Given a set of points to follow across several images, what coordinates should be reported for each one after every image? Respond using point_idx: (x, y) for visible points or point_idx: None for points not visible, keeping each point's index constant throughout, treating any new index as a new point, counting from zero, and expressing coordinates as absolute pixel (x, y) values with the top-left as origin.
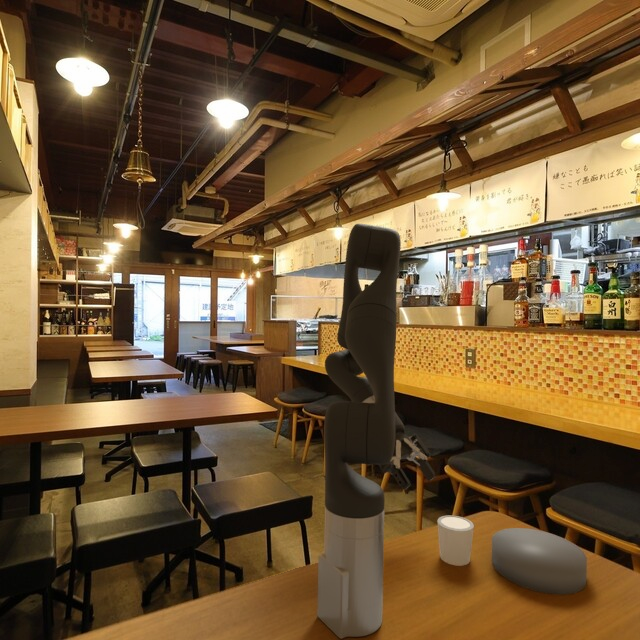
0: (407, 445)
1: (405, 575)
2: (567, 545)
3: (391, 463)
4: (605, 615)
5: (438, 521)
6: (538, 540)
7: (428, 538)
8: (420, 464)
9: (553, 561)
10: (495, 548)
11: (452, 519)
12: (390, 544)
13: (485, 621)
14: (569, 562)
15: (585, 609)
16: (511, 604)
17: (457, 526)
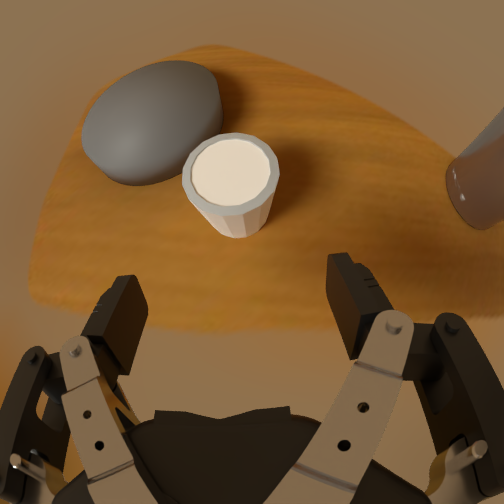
0: (146, 474)
1: (371, 218)
2: (107, 98)
3: (441, 335)
4: (200, 57)
5: (265, 197)
6: (118, 118)
7: (216, 300)
8: (117, 369)
9: (172, 75)
10: (200, 128)
11: (217, 187)
12: (319, 328)
13: (335, 98)
14: (158, 70)
15: (206, 66)
16: (275, 96)
17: (243, 155)
